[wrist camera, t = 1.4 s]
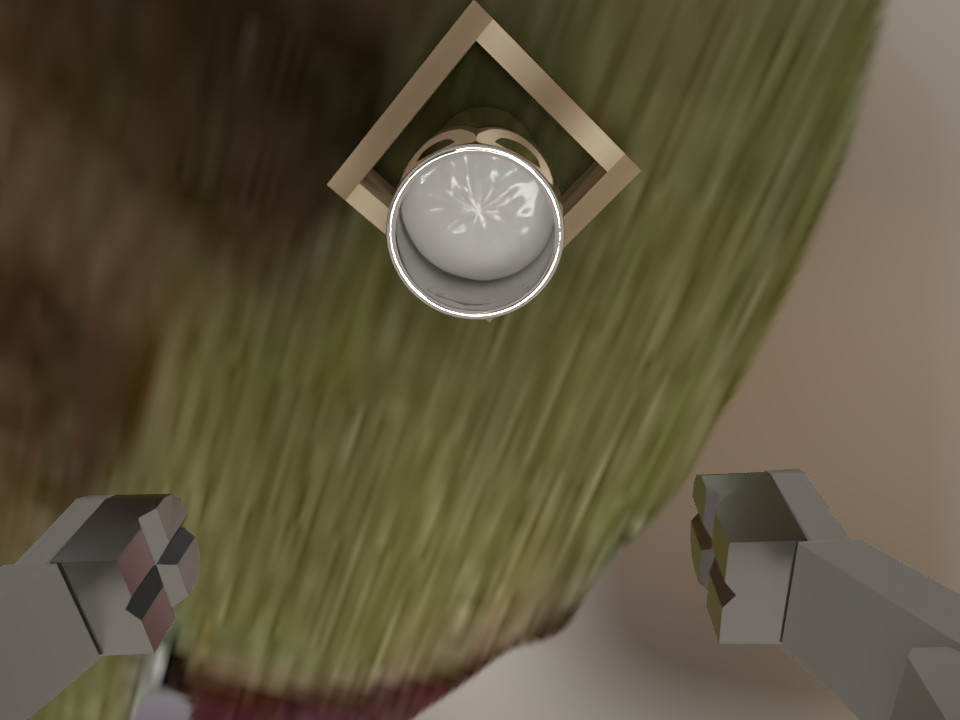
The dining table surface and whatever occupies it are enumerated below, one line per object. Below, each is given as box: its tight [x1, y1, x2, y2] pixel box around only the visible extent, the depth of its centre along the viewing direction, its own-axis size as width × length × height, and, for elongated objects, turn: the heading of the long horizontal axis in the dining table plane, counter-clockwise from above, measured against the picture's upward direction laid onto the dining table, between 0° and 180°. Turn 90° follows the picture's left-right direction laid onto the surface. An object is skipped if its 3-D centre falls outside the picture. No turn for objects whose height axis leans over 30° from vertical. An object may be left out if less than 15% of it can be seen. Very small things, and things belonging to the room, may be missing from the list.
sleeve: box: [327, 0, 641, 322], centre depth 36 cm, size 11×11×4 cm
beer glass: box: [386, 107, 565, 319], centre depth 31 cm, size 7×7×15 cm
